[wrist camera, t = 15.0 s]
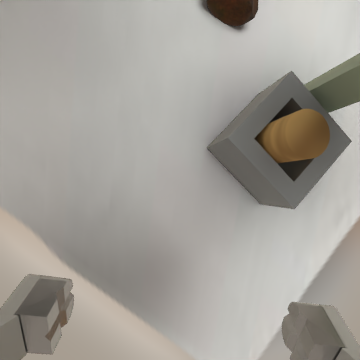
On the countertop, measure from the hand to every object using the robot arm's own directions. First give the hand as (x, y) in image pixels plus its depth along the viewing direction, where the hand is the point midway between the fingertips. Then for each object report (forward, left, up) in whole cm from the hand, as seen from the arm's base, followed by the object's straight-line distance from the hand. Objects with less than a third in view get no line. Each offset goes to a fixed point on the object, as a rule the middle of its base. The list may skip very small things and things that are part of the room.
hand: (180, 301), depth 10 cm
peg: (+3, +14, -17) cm, 23 cm away
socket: (+3, +15, -17) cm, 23 cm away
